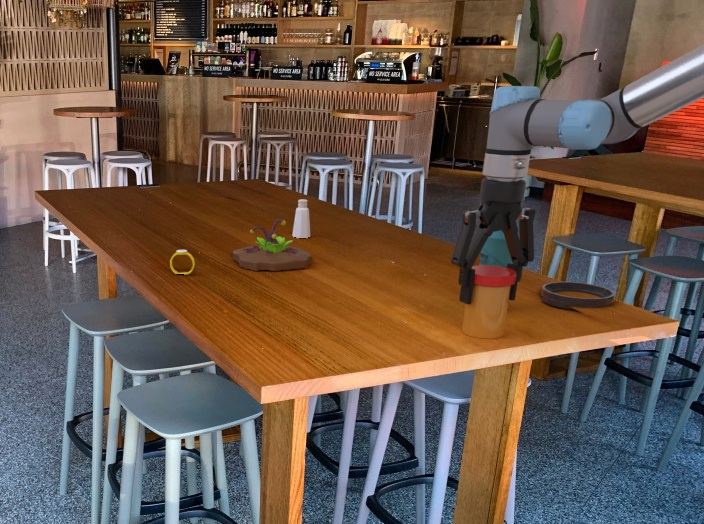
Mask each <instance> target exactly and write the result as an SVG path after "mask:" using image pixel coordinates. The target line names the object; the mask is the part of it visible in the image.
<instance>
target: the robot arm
mask: <svg viewBox="0 0 704 524" xmlns="http://www.w3.org/2000/svg"><path fill="white" fill-rule="evenodd" d="M702 99H704V43H703V44H701V45H700V46H698V47H696V48H694V49H692V50H690V51H688V52H687V53H685V54H683V55H681V56H679V57H677V58H676V59H673V60H671V61H670V62H668V63H666V64H664V65H662V66H660V67H659V68H657V69H654V70H652V71H650V72H649V73H647V74H646V75H643V76H642V77H640V78H638V79H636V80H634V81H632V82H631V83H628V84H626V85H625V86H624V87H622V88H620V89H618V90H616V91H614V92H612V93H610V94H608V95H606V96H604V97H602V98H586V99H585V98H584V99H547V98H546V99H545V98H541V89H540V88H539V87H538V86H533V85H532V86H529V85H505V86H504V85H502V86H499V87H497V88H496V89H495V90H494V92H493V98H492V102H491V107H490V111H489V121H488V132H487V140H486V148H485V153H484V159H483V165H482V172H481V174H482V176H484V178H483V179H482V180H481V182H480V191H479V202H480V204H479V206H478V208H477V209H476V210H472V211H469V210H464V211H462V217H461V218H462V222H461V227H460V229H459V233H458V236H457V240H456V242H455V246H454V250H453V253H452V256H451V259H450V263H451V264H452V265H454V266H457V267H458V268H459V274H458V283H457V284H458V285H459V286H460V291H459V298H458V300H459V302H462V303H463V304H464V305H465V304H471V300H472V292H473V285H474V278H475V270H474V269H472V266H474V264H476V261H477V260H478V257H479V256H480V255H481V250H482V248H483V246H484V244H485V243H486V241H487V239H488V237H490V236H491V235H492V233H493V232H496V231H499V230H501V231H502V232H503V233H504V236H505V240H506V243H507V247H508V250H509V253H510V257H511V260H512V261H511V263H509V264H507V268H509V269H512V270H514V271H516V281H515V283H514V284H513V285H511V289H510V295H509V301H511V302H512V301H516V294H517V289H518V283H520V282H521V280H522V274H523V269H524V267H527V266H528V265H529V262H533V261H534V260H535V242H534V241H535V240H534V239H535V238H534V237H535V236H534V220H535V216H536V213H537V211H536V210H535V209H534V208H530V207H526V206H525V207H523V206H522V202H523V201H524V199H525V193H526V187H527V182H526V180H525V178H527V176H528V172H529V166H530V160H531V154H532V153H531V152H532V147H534V146H535V147H549V148H560V149H569V150H571V151H578V150H580V151H581V150H594V149H597V148H599V146H600V145H614V144H617V143H620V142H622V141H626V140H628V139H630V138H631V137H633V136H634V135H636V133H637V132H638V131H639V130H640V129H642V128H644V127H646V126H648V125H650V124H653V123H654V122H656V121H659V120H661V119H663V118H664V117H665V118H666V117H667V116H669V115H671V114H673V113H675V112H677V111H680V110H681V109H683V108H685V107H688V106H690V105H692V104H694V103H697V102H698V101H700V100H702ZM518 218H519V219H518ZM517 220H518V221H519V222H518V224H517V222H516V221H517ZM477 223H478V224H477ZM518 232H519V233H518Z"/></svg>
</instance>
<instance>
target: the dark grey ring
mask: <svg viewBox="0 0 704 524" xmlns="http://www.w3.org/2000/svg"><path fill="white" fill-rule="evenodd" d="M559 292H560V293H561V292H569V293H570V292H572V293H581V294H582V293H583V294H588V295H591V296H596V298H595V297H594V298H593V297H591V298H590V297H578V296H577V297H576V296H568V295H564V294H559ZM615 296H616V293H615V292H614V291H613V290H612V289H609V288H607V287H605V286H601V285H597V284H592V283H586V282H578V281H553V282H548V283H544V284H543V285H542V286H541V291H540V297H539V298H540V300H541V301H542V302H544V303H546V304H547V305H549V306H552V307H555V308H558V309H563V310H567V311H572V312H573V311H575V312H579V310H578V309H576V308H573V307H577V308H591V309H592V308H606V307H609V306H611V305H613V303H614V301H615Z"/></svg>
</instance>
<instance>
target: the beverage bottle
mask: <svg viewBox="0 0 704 524" xmlns="http://www.w3.org/2000/svg"><path fill="white" fill-rule="evenodd" d="M478 262H479V263H478V266H479V265H489V266H499V267H505V268H507V264H509V263H511V264H512V260H511V257H510V253H509V250H508V247H507V243H506V240H505V236H504V233H503V232H502V231H501V230H499V231H496V232H493V233H492V235H491V236H490V237H488V239H487V241H486V243H485V244H484V246H483V248H482V250H481V252H480V255H479V261H478Z"/></svg>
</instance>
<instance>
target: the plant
mask: <svg viewBox="0 0 704 524" xmlns="http://www.w3.org/2000/svg"><path fill="white" fill-rule="evenodd" d="M286 221H287V220H285V219H283V218H277V219H276V220H274V223H273V224H272V226H271V231H270V232H269V231H268V230H267V229H266V228H265V227H262V226H260V225H257V226H254V227H252V228H251V229H250V230H249V234H251V235H253V234H255V232H256V229H259V230H261V231H262V233H263V234H264V238H265V239H264V238H262V237H258V236H257V237H256V239H257V241H255V244H256V245H254V244H252V245H249V246H246V247H241V248H236V249H234V250H232V260H233V261H234V262H236V263H238V264H239V268H242V267H243V268H242V269H245V270H248V269H250V270H249V271H253V270H254V271H253V272H260V271H259V270H269V271H268V272H282V271H281V270H284V271H292V270H291V269H295V270H304V269H303V268H306V269H307V268H308V267H309V266H310V265H311V262H312V255H311V253H310V251H307V250H303V249H301V248H299V247H297V246H296V247H295V246H290V244H292V242H294V240H293V239H292V240H291V239H290V240H288V241H286V238H285V237H284V236H283V237H282V236H280V235H279V236H278V234H277V232H276V228H277V227H276V226H277V225H278V223H279V224H280V225H281V226H282V227H284V226H286V225H287V222H286ZM257 245H258V246H257Z"/></svg>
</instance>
